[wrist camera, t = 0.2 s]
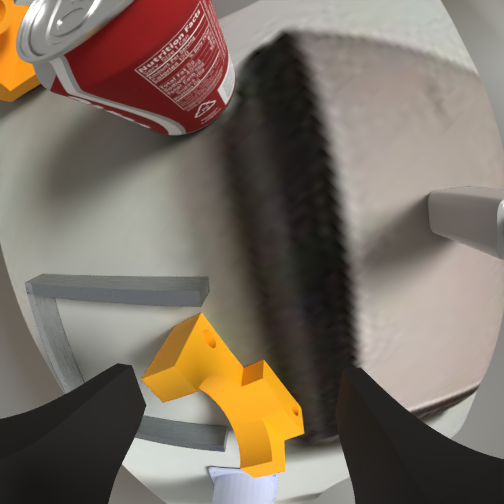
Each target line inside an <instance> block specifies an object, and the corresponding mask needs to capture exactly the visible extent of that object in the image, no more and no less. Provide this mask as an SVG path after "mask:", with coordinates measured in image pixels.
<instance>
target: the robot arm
mask: <svg viewBox="0 0 504 504" xmlns="http://www.w3.org/2000/svg"><path fill="white" fill-rule="evenodd" d="M145 408H146V403H145V401H144V398H143V396H142V393H141V390H140V388H139V385H138V382H137V379H136V376H135V373H134V370H133V367H132V366H131V365H125V364H119V363H118V364H116V365H114V366H112V367H110V368H109V369H107V370H105V371H103V372H102V373H100V374H99V375H97V376H95V377H94V378H92V379H90V380H89V381H87V382H85V383H84V384H82V385H80V386H79V387H77V388H75V389H74V390H72V391H70V392H68V393H67V394H65V395H63V396H61V397H59V398H57V399H56V400H53V401H52V402H50V403H47V404H45V405H43V406H41V407H38V408H36V409H34V410H31V411H28V412H25V413H22V414H19V415H15V416H11V417H7V418H3V419H0V504H108V502H109V498H110V494H111V491H112V487H113V484H114V481H115V478H116V475H117V473H118V470H119V468H120V466H121V464H122V462H123V460H124V458H125V456H126V454H127V452H128V450H129V448H130V446H131V444H132V442H133V440H134V437H135V435H136V433H137V431H138V429H139V427H140V424H141V421H142V418H143V414H144V411H145ZM335 413H336V420H337V427H338V434H339V438H340V442H341V445H342V449H343V452H344V456H345V460H346V463H347V467H348V470H349V474H350V478H351V481H352V485H353V490H354V495H355V503H356V504H504V459H500V458H497V457H493V456H489V455H486V454H483V453H480V452H477V451H475V450H472V449H470V448H468V447H466V446H463V445H461V444H459V443H457V442H455V441H453V440H451V439H449V438H447V437H446V436H444V435H442V434H441V433H439V432H437V431H436V430H434V429H432V428H431V427H429V426H428V425H426V424H425V423H423V422H422V421H421V420H419V419H418V418H417V417H415V416H414V415H413V414H411V413H410V412H409V411H408V410H406V409H405V408H404V407H403V406H402V405H400V404H399V403H398V402H397V401H396V400H395V399H394V398H392V397H391V396H390V395H389V394H388V393H387V392H386V391H385V390H384V389H383V388H382V387H380V386H379V385H378V384H377V383H376V382H375V381H374V380H373V379H372V378H371V377H370V376H369V375H368V374H367V373H366V372H365V371H364V370H363V369H362V368H353V369H345V370H343V373H342V379H341V385H340V390H339V395H338V400H337V404H336V409H335ZM209 473H210V476H211V479H212V481H213V484H214V492H213V497H212V503H211V504H274V499H275V498H276V496H277V485H278V473H276V474H272V475H267V476H263V477H258V478H253V477H252V476H250V475H249V474H247V473H246V472H244V471H243V470H241V469H230V468H218V467H210V468H209Z"/></svg>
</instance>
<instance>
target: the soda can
mask: <svg viewBox="0 0 504 504" xmlns="http://www.w3.org/2000/svg"><path fill="white" fill-rule="evenodd" d="M16 51H17V54H18V56H19V58H20V59H22V60H23V61H25V62H28V63H31V64H33V67H34V70H35V73H36V76H37V78H38V80H39V82H40V83H41V84H42V85H43V86H44V87H45V88H46V89H48V90H49V91H51V92H54V93H57V94H60V95H63V96H66V97H69V98H71V99H74V100H77V101H80V102H83V103H86V104H88V105H91V106H94V107H96V108H99V109H102V110H104V111H107V112H109V113H112V114H115V115H117V116H120V117H122V118H125V119H127V120H129V121H132V122H134V123H137V124H139V125H141V126H144V127H146V128H149V129H151V130H153V131H156V132H158V133H161V134H166V135H184V134H188V133H192V132H195V131H197V130H200V129H202V128H204V127H205V126H207V125H209V124H210V123H212V122H213V121H214V120H215V119H217V118H218V117H219V116H220V115H221V114H222V112H223V111H224V110H225V109H226V107H227V106H228V104H229V102H230V100H231V98H232V96H233V93H234V89H235V82H236V81H235V71H234V68H233V65H232V61H231V58H230V55H229V52H228V49H227V46H226V43H225V40H224V37H223V34H222V31H221V28H220V25H219V22H218V19H217V16H216V13H215V10H214V7H213V4H212V1H211V0H34V1H33V2H32V4H31V5H30V7H29V8H28V10H27V12H26V14H25V15H24V18H23V20H22V22H21V24H20V27H19V30H18V33H17V38H16Z"/></svg>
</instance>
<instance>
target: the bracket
mask: <svg viewBox="0 0 504 504" xmlns="http://www.w3.org/2000/svg"><path fill="white" fill-rule="evenodd" d="M29 7H30V6H21V5H14V1H13V0H0V100H2V101H8V102H13V101H14V100H16V99H17V98H19V97H20V96H22V95H23V94H25V93H26V92H28V91H29V90H31V89H33V88H34V87H36V86H38V85H39V84H41V83H40V82H39V80H38V78H37V76H36V73H35V70H34V67H33V64H31V63H28V62H25V61H23V60H22V59H20V58H19V56H18V54H17V51H16V38H17V33H18V30H19V27H20V24H21V22H22V20H23V18H24V15H25V14H26V12H27V10H28V8H29Z"/></svg>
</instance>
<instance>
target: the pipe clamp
mask: <svg viewBox="0 0 504 504" xmlns="http://www.w3.org/2000/svg"><path fill="white" fill-rule="evenodd" d="M141 380H142V381H143V382H144V383H145V384H146V385H147V386H148V387H149V388H150V390H151V391H152V392H153V393H154V394H155V395H156V396H157V397H158V398H159V399H160V400H161V401H162V402H163V403H164V402H167V401H170V400H174V399H177V398H180V397H183V396H186V395H189V394H192V393H195V392H198V389H200V390H202V391H203V392H205V393H206V394H208V395H209V396H210V397H211V398H212V399H214V400H215V402H216V403H217V404H218V405H219V406H220V407H221V409H222V410H223V411H224V413H225V414H226V416H227V418H228V419H229V421H230V423H231V425H232V428H233V430H234V432H235V435H236V438H237V441H238V445H239V451H240V469H241V470H243V471H244V472H246V473H247V474H249V475H250V476H252V477H253V478H258V477H263V476H267V475H272V474H276V473H280V472H284V471H285V453H284V440H286V439H289V438H292V437H295V436H298V435H301V434H304V428H303V419H302V411H301V407H300V406H299V404H298V403H297V402H296V401H295V399H294V398H293V397H292V396H291V394H290V393H289V392H288V391H287V389H286V388H285V387H284V385H283V384H282V383H281V382H280V380H279V379H278V378H277V376H276V375H275V374H274V372H273V371H272V370H271V368H270V367H269V366H268V364H267V363H266V362H265V360H261V361H259V362H257V363H254V364H252V365H250V366H247V367H245V368H243V366H242V365H241V364H240V363H239V361H238V360H237V359H236V358H235V356H234V355H233V354H232V353H231V351H230V350H229V349H228V347H227V346H226V345H225V343H224V342H223V341H222V339H221V338H220V337H219V335H218V334H217V333H216V331H215V330H214V329H213V327H212V326H211V325H210V323H209V322H208V321H207V319H206V318H205V316H204V315H203V314H202V312H201V313H199V314H197V315H195V316H194V317H192V318H190V319H188V320H186V321H184V322H182V323H180V324H178V325H176V326H174V327H173V329H172V331H171V332H170V334H169V335H168V337H167V338H166V340H165V342H164V343H163V345H162V346H161V348H160V350H159V351H158V353H157V354H156V356H155V358H154V359H153V361H152V362H151V364H150V366H149V367H148V369H147V370H146V372H145V374H144V375H143V377H142V379H141Z"/></svg>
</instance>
